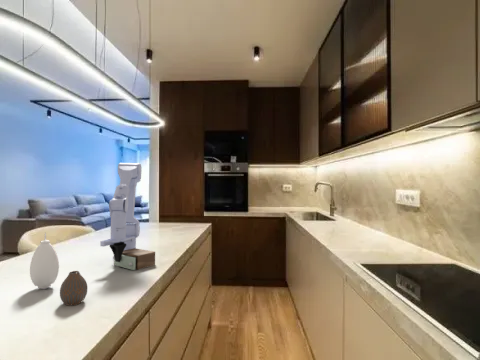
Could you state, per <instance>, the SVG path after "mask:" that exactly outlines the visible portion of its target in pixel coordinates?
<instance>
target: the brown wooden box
mask: <svg viewBox="0 0 480 360" xmlns="http://www.w3.org/2000/svg"><path fill="white" fill-rule="evenodd" d="M122 255H125V256H130V257H134V258H136V262H135V270H139V271H140V270H141V269H145V268H148V267H152V266H155V265H156V251H153V250H147V249H142V248H137V247H136V248H133V249H128V250H124V251H123V253H122Z"/></svg>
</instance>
